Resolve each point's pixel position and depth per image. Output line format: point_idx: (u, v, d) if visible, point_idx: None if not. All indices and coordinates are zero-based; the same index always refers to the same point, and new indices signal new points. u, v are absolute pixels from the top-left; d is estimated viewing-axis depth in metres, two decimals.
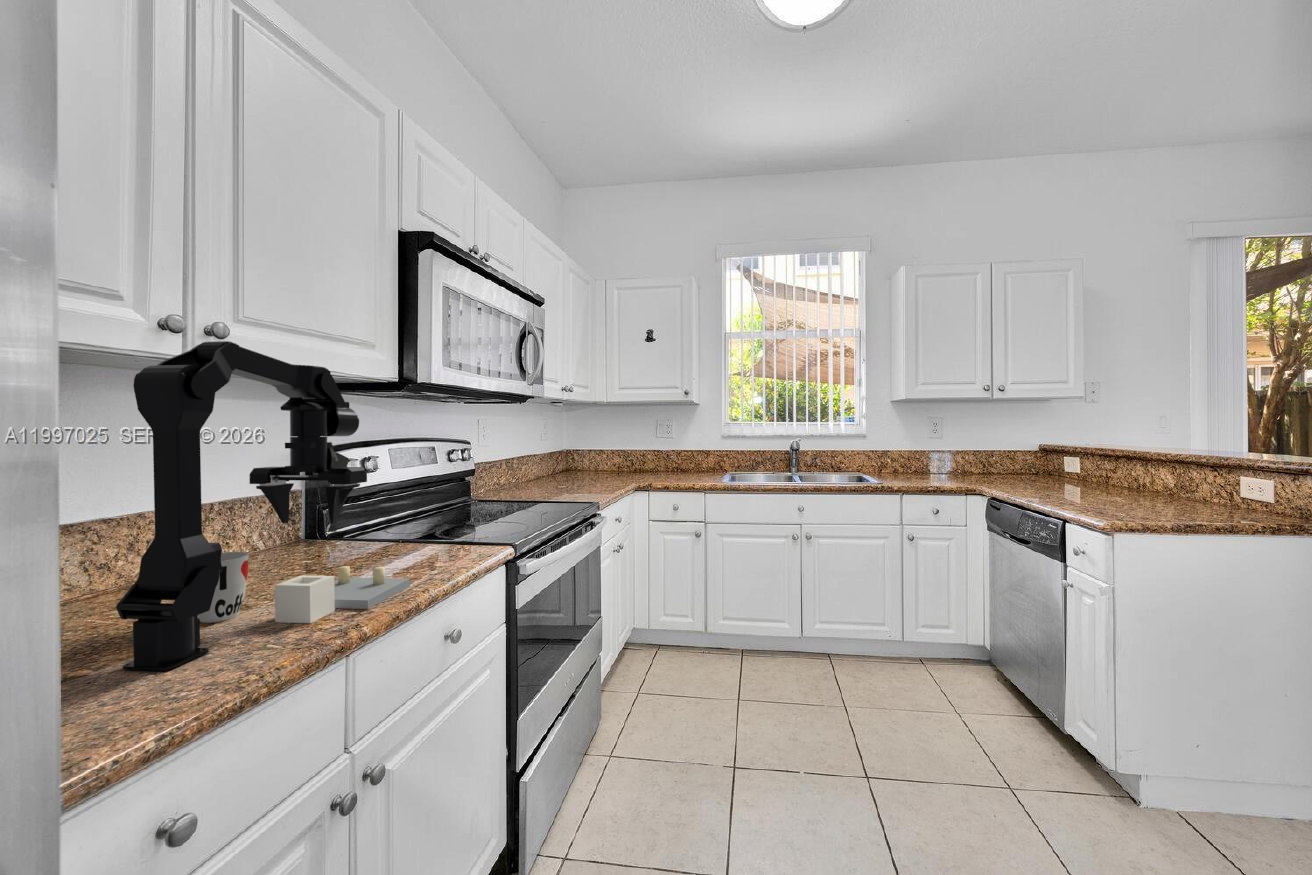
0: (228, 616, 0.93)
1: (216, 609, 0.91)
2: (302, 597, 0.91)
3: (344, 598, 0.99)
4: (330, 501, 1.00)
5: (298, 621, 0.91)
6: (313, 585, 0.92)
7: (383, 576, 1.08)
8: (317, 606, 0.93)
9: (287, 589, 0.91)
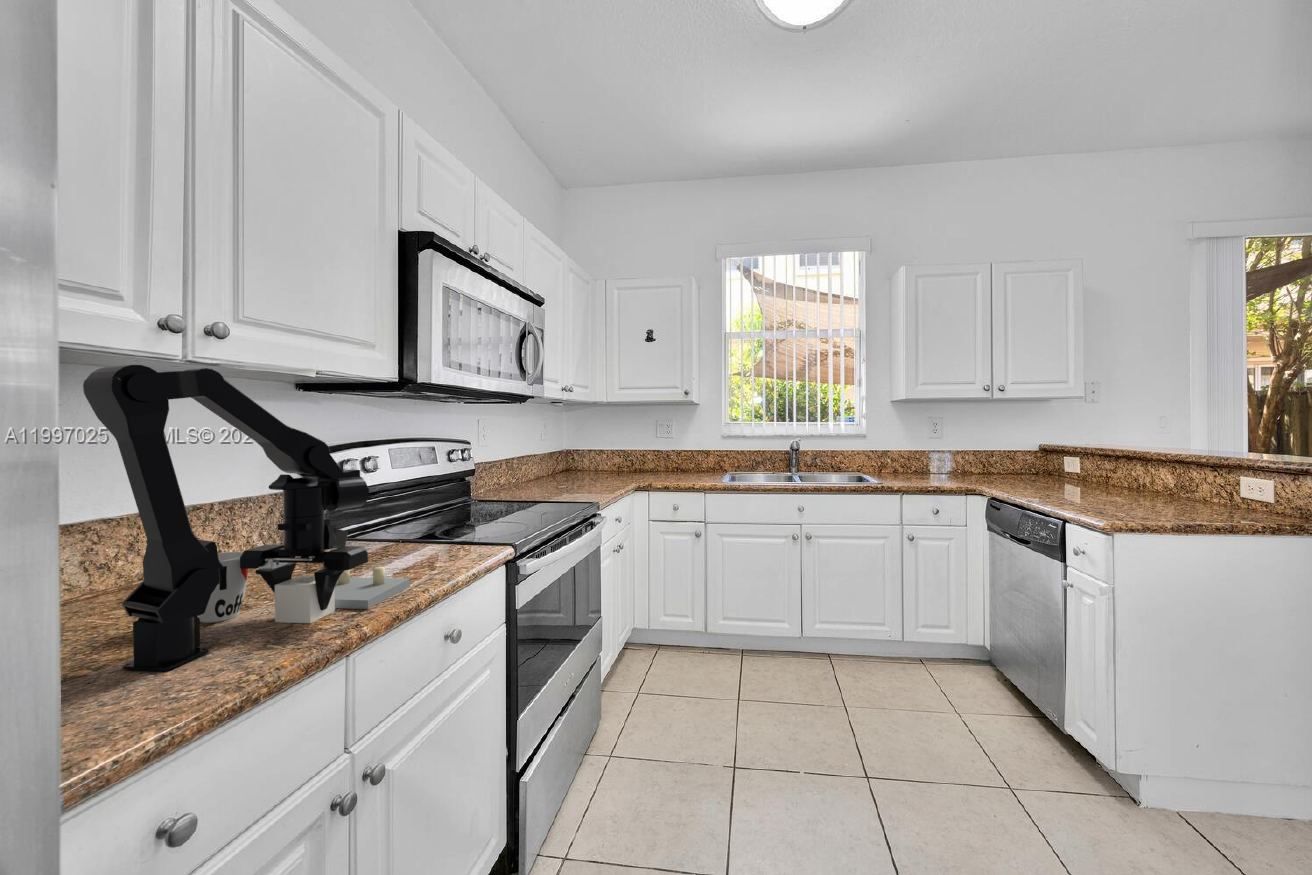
0: (228, 616, 0.93)
1: (216, 609, 0.91)
2: (302, 597, 0.91)
3: (344, 598, 0.99)
4: (319, 587, 0.92)
5: (298, 621, 0.91)
6: (313, 585, 0.92)
7: (383, 576, 1.08)
8: (317, 606, 0.93)
9: (287, 589, 0.91)
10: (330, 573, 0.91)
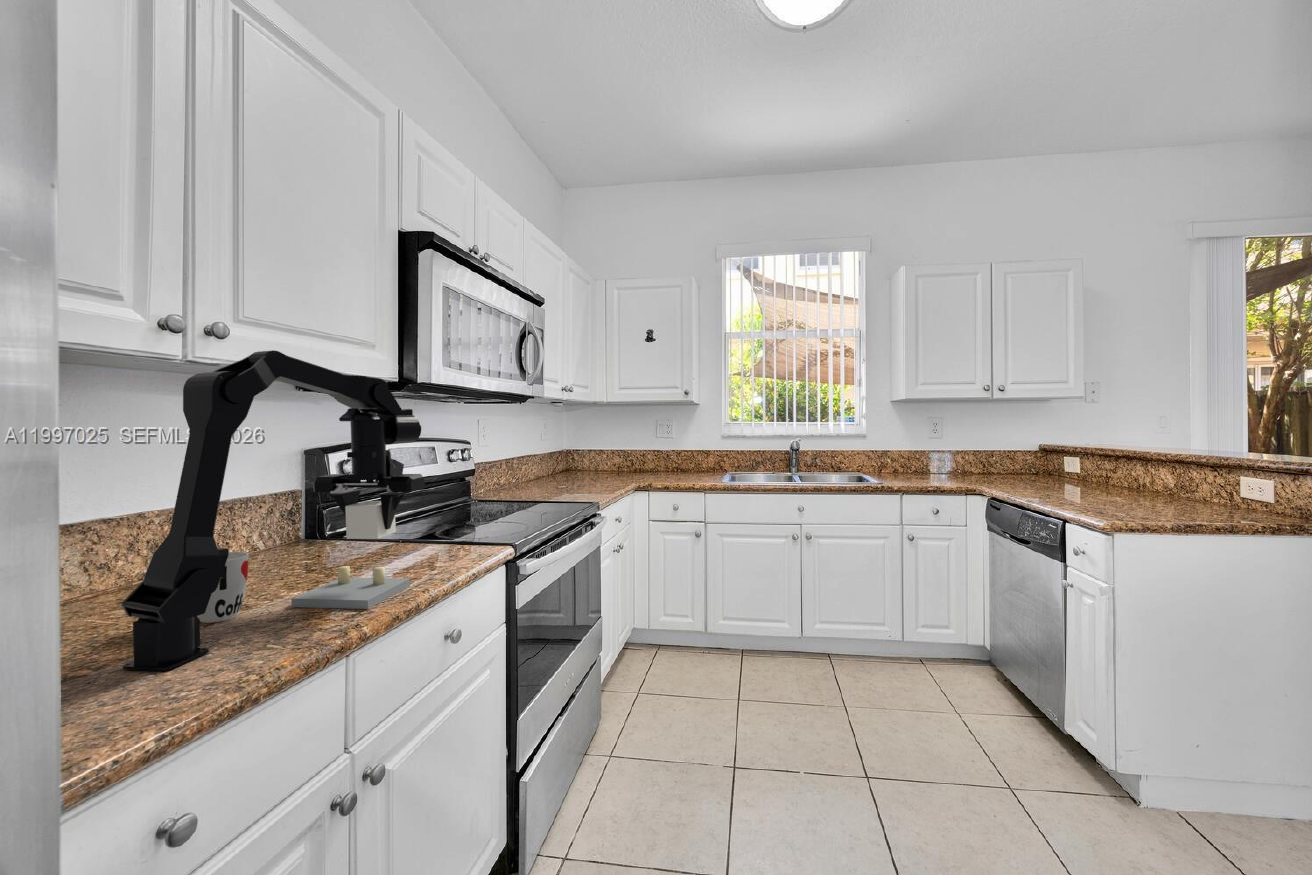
0: (228, 616, 0.93)
1: (216, 609, 0.91)
2: (370, 516, 1.04)
3: (344, 598, 0.99)
4: (385, 508, 1.04)
5: (367, 537, 1.04)
6: (379, 506, 1.04)
7: (383, 576, 1.08)
8: (382, 525, 1.05)
9: (356, 509, 1.04)
10: (394, 495, 1.03)
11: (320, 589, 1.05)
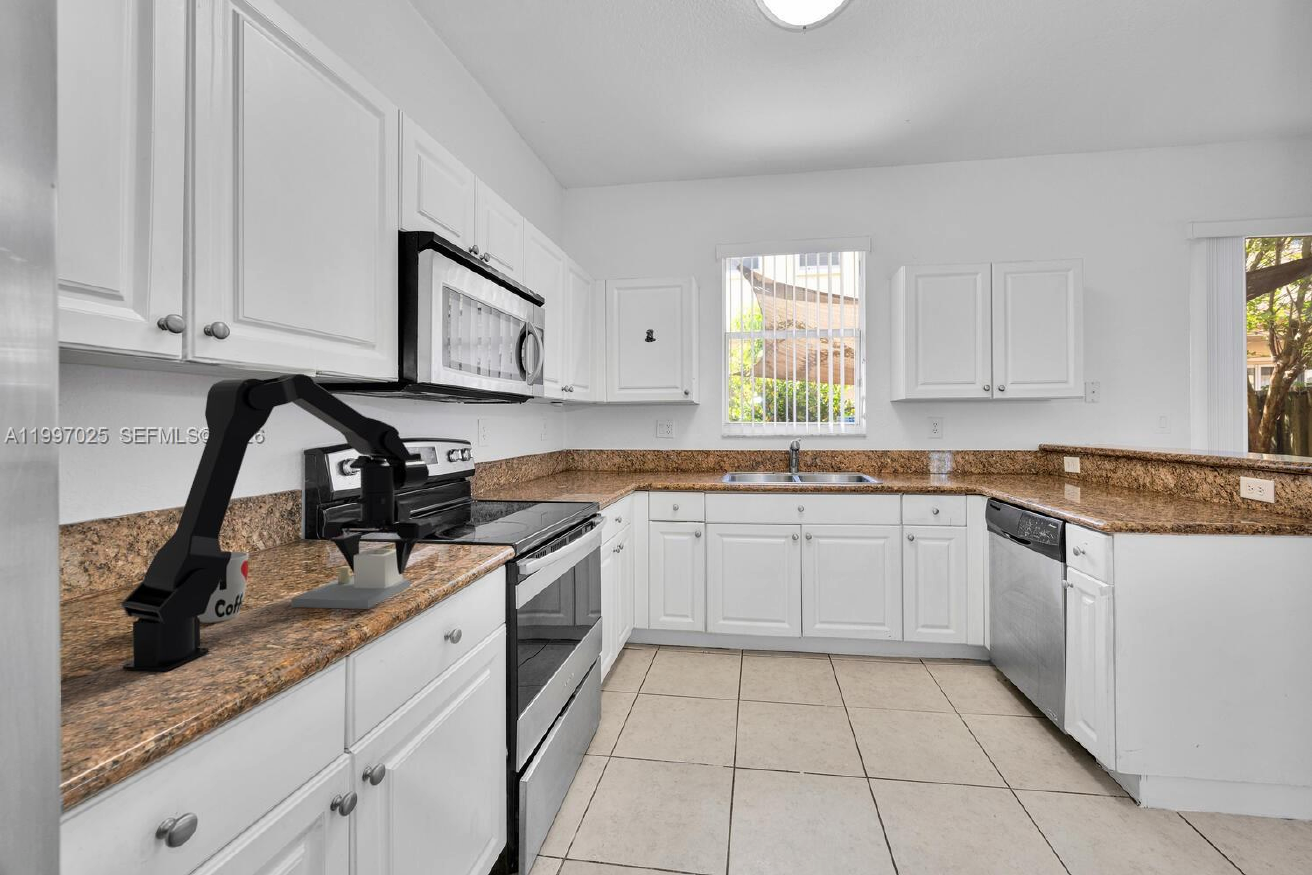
0: (228, 616, 0.93)
1: (216, 609, 0.91)
2: (378, 566, 1.05)
3: (344, 598, 0.99)
4: (399, 553, 1.06)
5: (374, 587, 1.05)
6: (387, 556, 1.06)
7: None
8: (389, 574, 1.07)
9: (364, 559, 1.06)
10: (409, 541, 1.05)
11: (320, 589, 1.05)
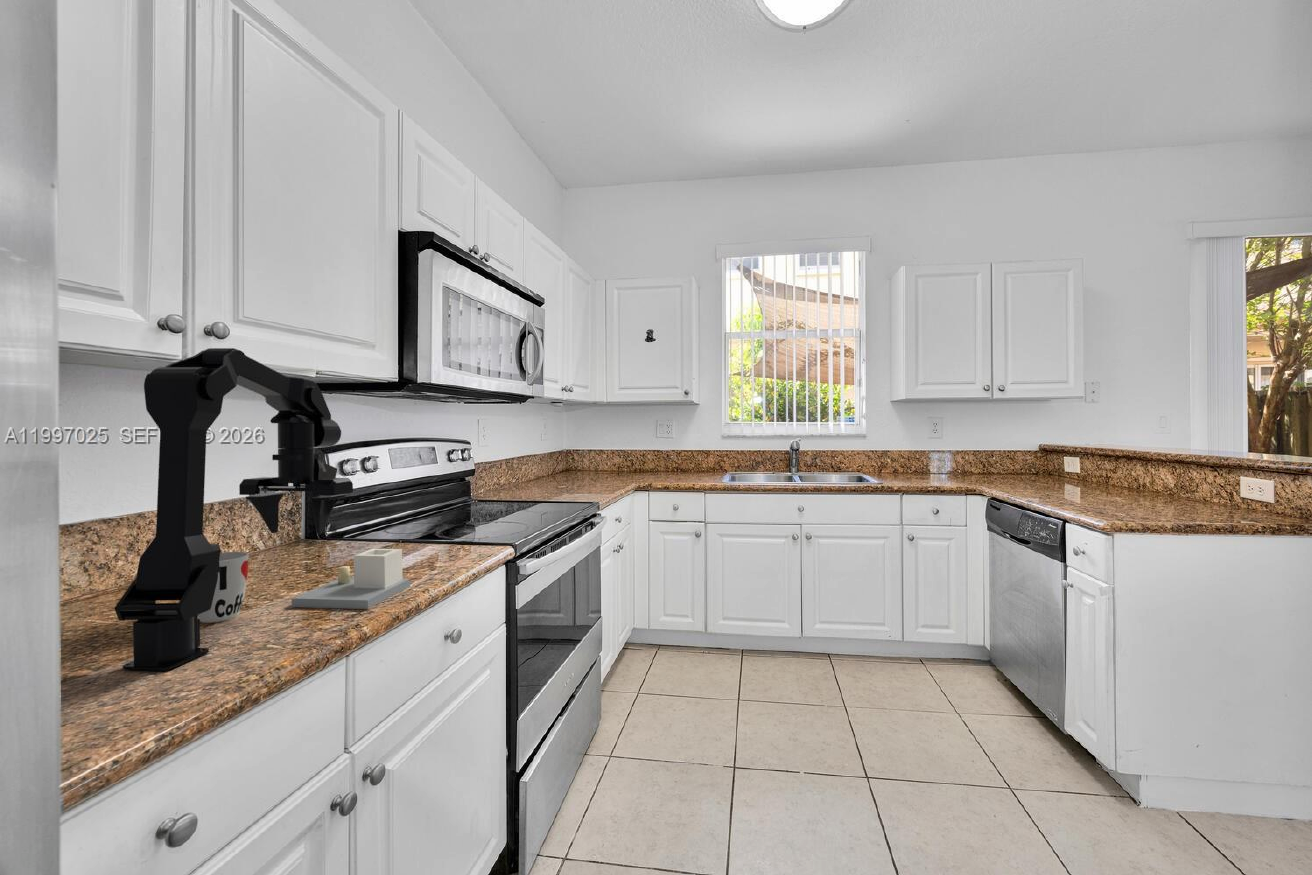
0: (228, 616, 0.93)
1: (216, 609, 0.91)
2: (378, 566, 1.05)
3: (344, 598, 0.99)
4: (316, 512, 1.02)
5: (374, 587, 1.05)
6: (387, 556, 1.06)
7: None
8: (389, 574, 1.07)
9: (364, 559, 1.06)
10: (325, 498, 1.01)
11: (320, 589, 1.05)
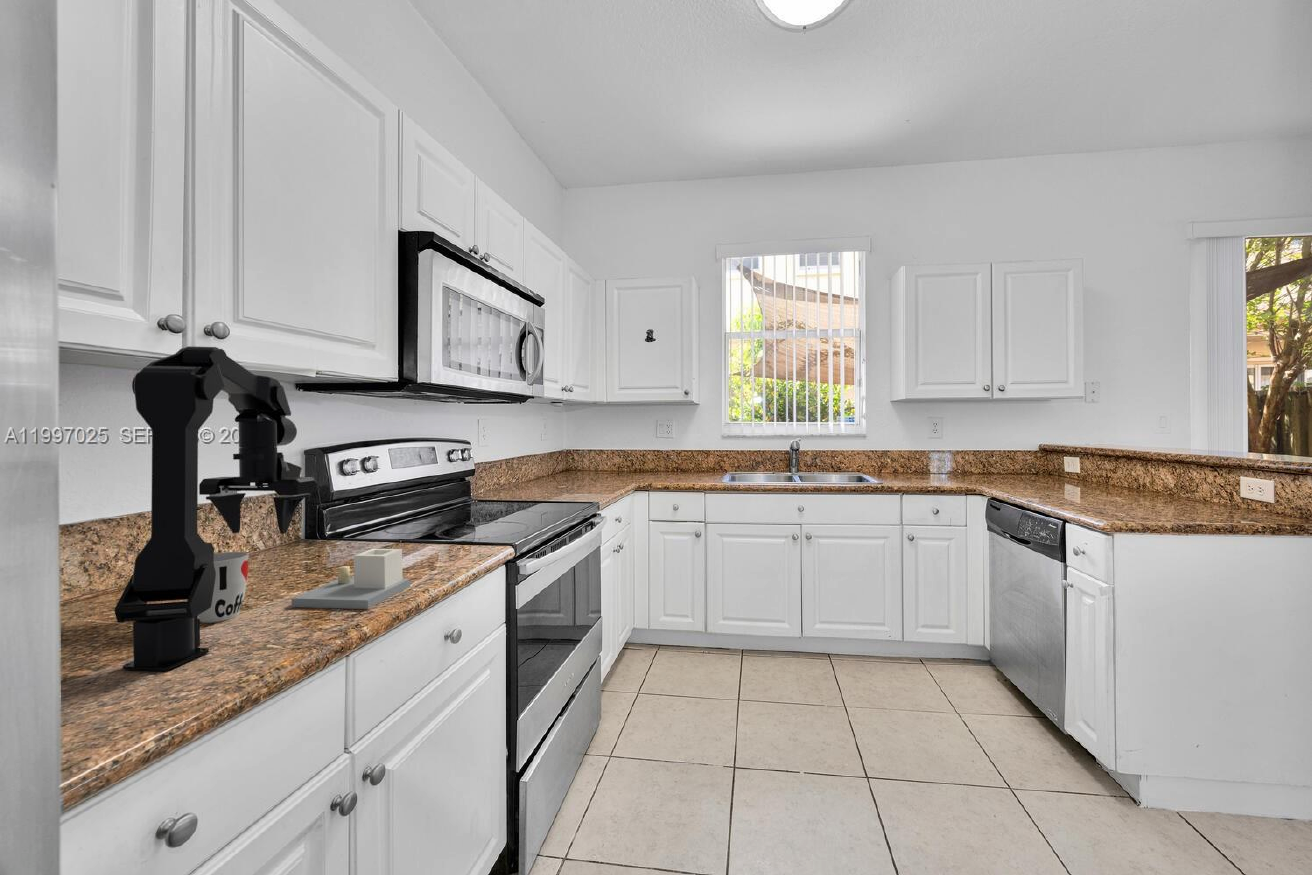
0: (228, 616, 0.93)
1: (216, 609, 0.91)
2: (378, 566, 1.05)
3: (344, 598, 0.99)
4: (278, 511, 1.01)
5: (374, 587, 1.05)
6: (387, 556, 1.06)
7: None
8: (389, 574, 1.07)
9: (364, 559, 1.06)
10: (288, 498, 1.00)
11: (320, 589, 1.05)
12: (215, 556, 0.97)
